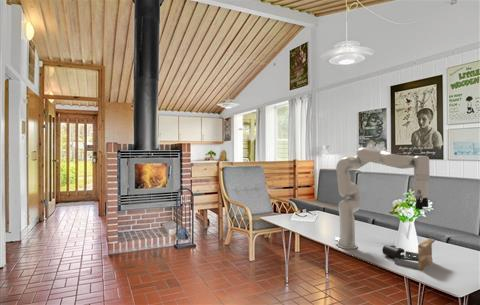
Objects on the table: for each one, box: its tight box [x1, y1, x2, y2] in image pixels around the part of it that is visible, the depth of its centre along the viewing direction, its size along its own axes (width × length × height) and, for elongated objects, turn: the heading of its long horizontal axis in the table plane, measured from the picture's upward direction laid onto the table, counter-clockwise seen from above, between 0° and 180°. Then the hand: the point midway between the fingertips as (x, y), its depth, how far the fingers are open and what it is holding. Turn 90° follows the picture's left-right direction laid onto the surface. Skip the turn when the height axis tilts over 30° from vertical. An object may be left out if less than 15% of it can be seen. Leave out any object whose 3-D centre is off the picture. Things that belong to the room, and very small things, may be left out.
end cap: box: [381, 244, 405, 260], centre depth 179 cm, size 10×7×7 cm
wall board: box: [417, 238, 436, 271], centre depth 166 cm, size 3×18×13 cm, turn 133°
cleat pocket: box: [394, 250, 419, 270], centre depth 172 cm, size 12×18×3 cm, turn 133°
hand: (422, 208), depth 170 cm, fingers open, 9 cm apart
